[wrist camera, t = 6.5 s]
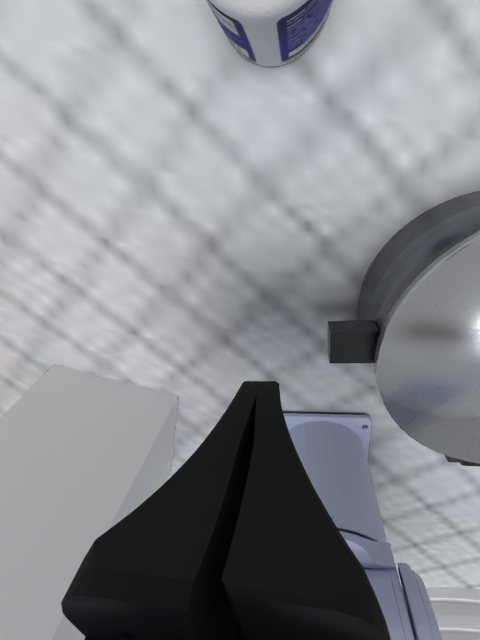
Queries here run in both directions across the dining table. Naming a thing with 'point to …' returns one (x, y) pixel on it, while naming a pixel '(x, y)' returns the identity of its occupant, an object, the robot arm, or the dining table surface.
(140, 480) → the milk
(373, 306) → the cooking pot
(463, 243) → the pot lid
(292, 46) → the pill bottle
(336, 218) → the dining table surface
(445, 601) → the plate stack
